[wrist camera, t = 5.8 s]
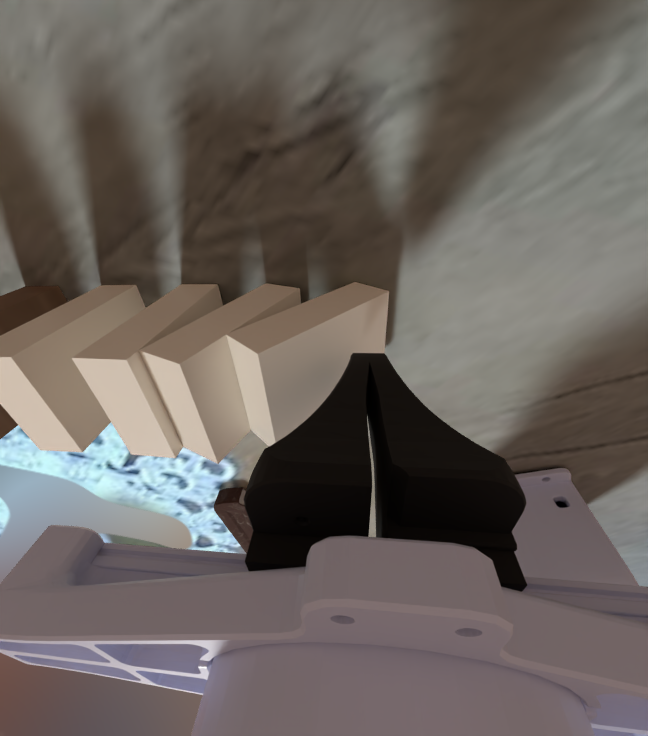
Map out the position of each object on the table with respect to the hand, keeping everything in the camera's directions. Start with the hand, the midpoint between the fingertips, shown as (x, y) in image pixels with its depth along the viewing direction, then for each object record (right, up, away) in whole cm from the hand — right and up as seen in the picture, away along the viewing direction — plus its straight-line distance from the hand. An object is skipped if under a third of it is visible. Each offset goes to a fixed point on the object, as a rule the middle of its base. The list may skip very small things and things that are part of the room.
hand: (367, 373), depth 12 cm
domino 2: (-4, +2, +4) cm, 6 cm away
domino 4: (-13, +3, +5) cm, 14 cm away
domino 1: (+1, +2, +3) cm, 4 cm away
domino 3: (-8, +2, +4) cm, 9 cm away
